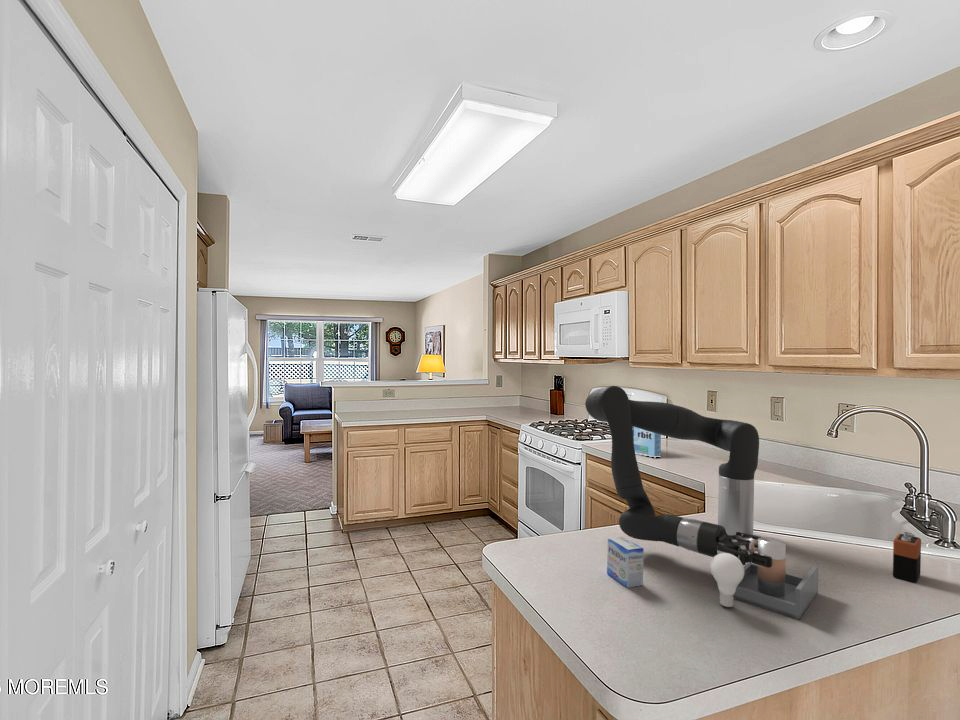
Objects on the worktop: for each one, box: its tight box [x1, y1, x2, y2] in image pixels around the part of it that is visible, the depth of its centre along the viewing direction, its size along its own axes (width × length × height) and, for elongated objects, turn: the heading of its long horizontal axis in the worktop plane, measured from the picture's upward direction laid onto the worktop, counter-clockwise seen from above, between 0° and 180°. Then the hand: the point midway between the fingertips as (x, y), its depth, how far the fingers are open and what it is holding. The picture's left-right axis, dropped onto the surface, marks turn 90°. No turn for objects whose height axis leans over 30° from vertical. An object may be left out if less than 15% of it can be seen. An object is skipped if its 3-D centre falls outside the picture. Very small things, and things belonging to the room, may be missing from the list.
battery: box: [892, 531, 922, 584], centre depth 119 cm, size 4×7×10 cm, turn 132°
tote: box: [734, 562, 819, 621], centre depth 109 cm, size 16×14×6 cm
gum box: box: [632, 426, 662, 456], centre depth 263 cm, size 20×5×23 cm, turn 30°
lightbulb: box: [709, 553, 745, 608], centre depth 103 cm, size 6×6×11 cm
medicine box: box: [606, 536, 645, 589], centre depth 115 cm, size 8×4×9 cm, turn 21°
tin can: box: [757, 536, 787, 597], centre depth 109 cm, size 5×5×11 cm
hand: (777, 557), depth 108 cm, fingers open, 8 cm apart
